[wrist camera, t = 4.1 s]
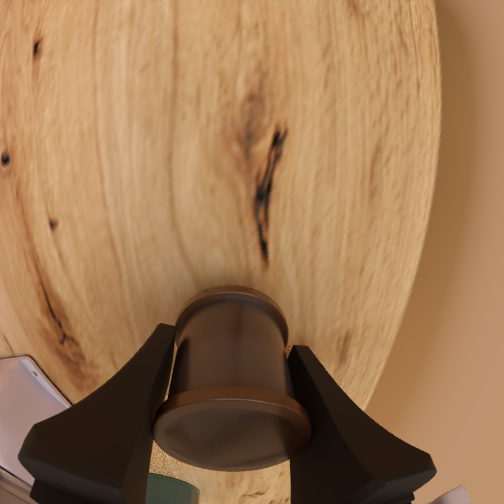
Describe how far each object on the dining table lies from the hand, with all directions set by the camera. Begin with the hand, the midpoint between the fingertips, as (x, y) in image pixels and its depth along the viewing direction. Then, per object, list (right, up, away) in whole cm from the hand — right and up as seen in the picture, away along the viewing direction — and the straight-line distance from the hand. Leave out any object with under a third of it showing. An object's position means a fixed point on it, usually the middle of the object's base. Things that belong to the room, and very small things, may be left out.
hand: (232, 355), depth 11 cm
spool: (0, +1, +1) cm, 1 cm away
